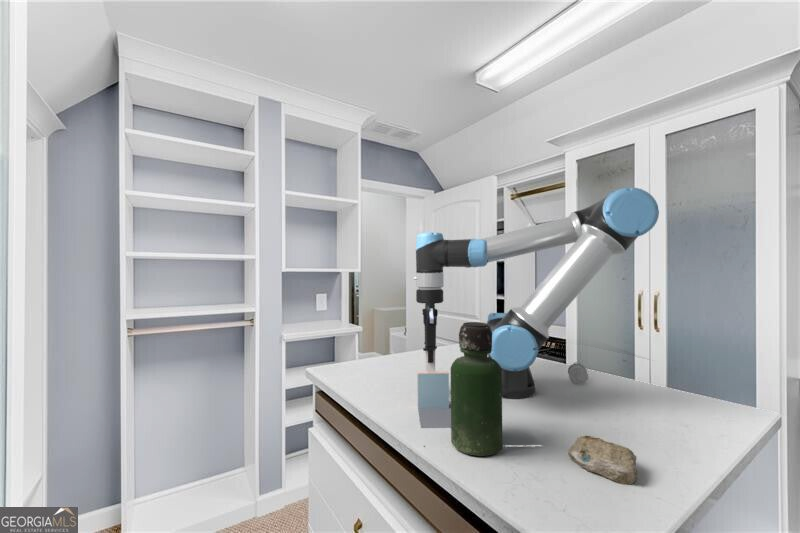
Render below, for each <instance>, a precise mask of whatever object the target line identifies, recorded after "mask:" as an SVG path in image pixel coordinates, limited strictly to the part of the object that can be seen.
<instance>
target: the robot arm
mask: <svg viewBox="0 0 800 533" xmlns="http://www.w3.org/2000/svg"><path fill="white" fill-rule="evenodd" d="M659 215H660V210H659V205H658V203H657V201H656V199H655V197H653V195H652V194H651V193H650V192H648V191H646V190H644V189H642V188H639V187H623V188H620V189H616V190H614V191H613V192H610V194H609V195H607V196H605V197H604V198H602V199H600V200H598V202H597V201H596V202H595V203H593V204H592V205H590V206H586V207H585V208H583V209H580V210H576V211H571V213H570V214H569V216H567V217H564V218H563V217H562V218H560V219H555V220H552V221H547V222H543V223H539V224H536V225H531V226H528V227H524V228H520V229H519V228H518V229H515V230H512V231H507V232H504V233H500V234H496V235H492V236H489V237H484V238H471V239H470V238H469V239H467V238H466V239H465V238H464V239H444V235H443V234H442V233H441V232H430V231H429V232H420V233H418V235H417V236H416V243H415V244H416V245H415V246H416V247H415V260H416V261H415V262H416V263H415V264H416V265H415V267H416V268H415V269H416V272H415V273H416V276H414V277H413V280H414V281H416V287H417V288H418V289H417V290H416V293H415V295H416V297H415V300H416V302H417V303H418V304H424V308H422V315H423V316H422V317H423V325H424V345H425V346H424V347H423V349H422V350H423V352H424V372H433V371H436V350H437V348H438V347H437V345H436V344H437V325H438V322H437V321H438V315H439V314H438V309H437V308H436V306H435V304H441V303H443V302H444V290H443V289H442V288H443V287H444V268H451V267H452V268H480V267H481V268H482V267H483V268H484V267H486V266H487V264H489V263H492V262H496V261H501V260H505V259H509V258H513V257H518V256H523V255H527V254H530V253H534V252H535V253H536V252H540V251H543V250H548V249H552V248H558V247H560V246H564V245H570V244H572V245H571V247H570V248H569V249H568V250H567V251H566V252H565V254H564V255H563V256H562V257H561V259H559V261H558V262H557V264H555V266H554V267H553V268H552V269H551V270H550V272H549V273H548V274H547V275H546V276H545V278H543V280H542V281H541V282H540V283H539V284H538V285H537V287H536V288H535V289H534V290H533V292H531V294H530V295H529V296H528V298H526V300H525V301H524V302H523V303H522V304H521V306H518V307H511V308H510V309H509V311H508V312H491V313H489V314H488V316H487V322H486V323H487V324H488V326H490V328H491V332H492V349H491V353H489V354H488V356H487V357H489V358H492V359H494V360H496V361H497V363H498V364H499V365H500V366H501V369H502V398H506V399H525V398H530V397H532V396H534V395H535V394H536V384H535V380H534V377H533V374H532V370H531V368H530V367H531V366H532V365H533V364H534V362H535V361H536V360H537V356H538V353H539V350H540V349H541V348H542V346H543V345H544V344H545V343H546V342H547V341H548V340H549V339H550V334H549V329H550V328H551V326H552V325H553V324H554V323H555V321H557V319H558V318H560V316H561V315H562V314H563V313H564V311H566V309H567V308H568V307H569V306H570V305H571V303H572V302H574V300H575V299H576V298H577V297H578V296H579V294H580V293H581V292H582V291H583V290H584V289H585V287H586V286H587V285H588V284H589V283H590V282H591V281H592V280H593V279H594V277H595V276H596V274H598V272H600V270H601V269H602V268H603V267H604V266H605V264H607V262H608V261H609V260H610V259H611V258H612V256H615V255H620V254H624V253H625V252H626V251H627V250H628V249H629V248H630V247H631V245H632V244H633V243H634V242H635V241H636V240H637V238H638V237H642V236H643V235H645V234H647V233H649V232H650V231H651V230H652V229H653V228H654V227H655V225H656V224H657V223H658V219H659Z"/></svg>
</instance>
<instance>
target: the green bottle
mask: <svg viewBox="0 0 800 533" xmlns="http://www.w3.org/2000/svg"><path fill="white" fill-rule="evenodd" d="M458 341H459V342H458V345H459V346H458V347H459V350H460V352H461V353H462V354H463V356H460V357H457V358H456V359H454V361H453V362H452V364H451V365H450V404H451V428H450V439H451V441H450V442H451V444H452V445H453V447H454V448H455V449H456V450H458V451H460V452H462V453H464V454H467V455H469V456H477V457H486V456H493V455H496V454H497V453H498V452H500V451H501V450H502V449H503V397H502V369H501V366H500V365H499V364H498V363H497V361H496V360H494V359H492V358H489V357H488V354H489V353H491V349H492V332H491V328H490V326H488V324H487V322H481V321H480V322H479V321H473V322H472V321H471V322H469V321H468V322H467V321H466V322H463V324H462V325H461V326H460V328H459V333H458Z"/></svg>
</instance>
